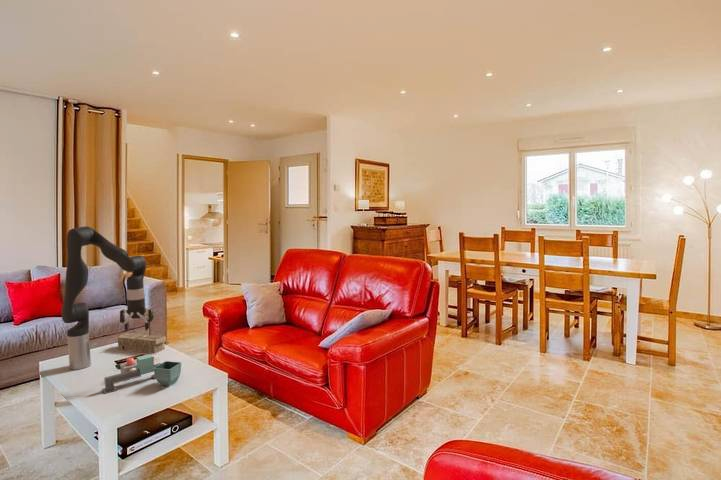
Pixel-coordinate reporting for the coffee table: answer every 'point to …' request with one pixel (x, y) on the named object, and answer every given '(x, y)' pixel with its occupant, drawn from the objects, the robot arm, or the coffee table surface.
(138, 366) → the carriage
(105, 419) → the coffee table surface
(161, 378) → the flower pot
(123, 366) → the cabinet
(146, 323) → the robot arm
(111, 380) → the handrail
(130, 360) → the button
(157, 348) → the block tower
